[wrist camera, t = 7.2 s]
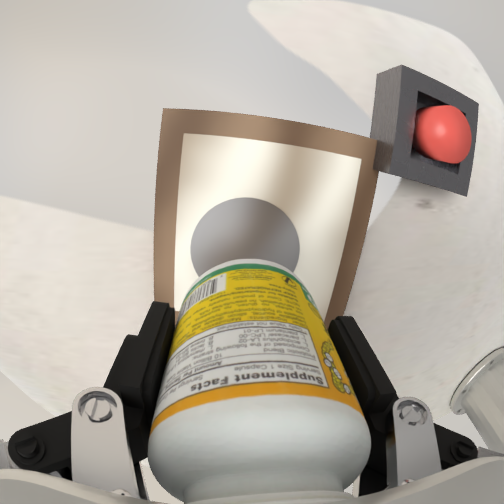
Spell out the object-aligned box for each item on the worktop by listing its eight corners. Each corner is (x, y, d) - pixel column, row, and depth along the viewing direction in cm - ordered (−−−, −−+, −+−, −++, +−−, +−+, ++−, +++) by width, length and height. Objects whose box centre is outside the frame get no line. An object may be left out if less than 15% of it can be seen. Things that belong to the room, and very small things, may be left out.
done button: (451, 117, 15) (473, 117, 13) (444, 164, 16) (467, 170, 14) (412, 99, 15) (434, 96, 12) (405, 151, 16) (427, 154, 14)
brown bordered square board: (375, 141, 18) (385, 141, 16) (331, 328, 23) (336, 339, 22) (167, 110, 17) (162, 107, 15) (158, 314, 22) (154, 325, 20)
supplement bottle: (181, 250, 11) (81, 534, 2) (324, 258, 11) (467, 498, 2) (184, 360, 12) (157, 568, 4) (301, 364, 13) (351, 560, 4)
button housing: (450, 104, 17) (478, 103, 13) (438, 187, 19) (466, 196, 16) (377, 74, 16) (401, 64, 13) (365, 167, 18) (388, 173, 15)
